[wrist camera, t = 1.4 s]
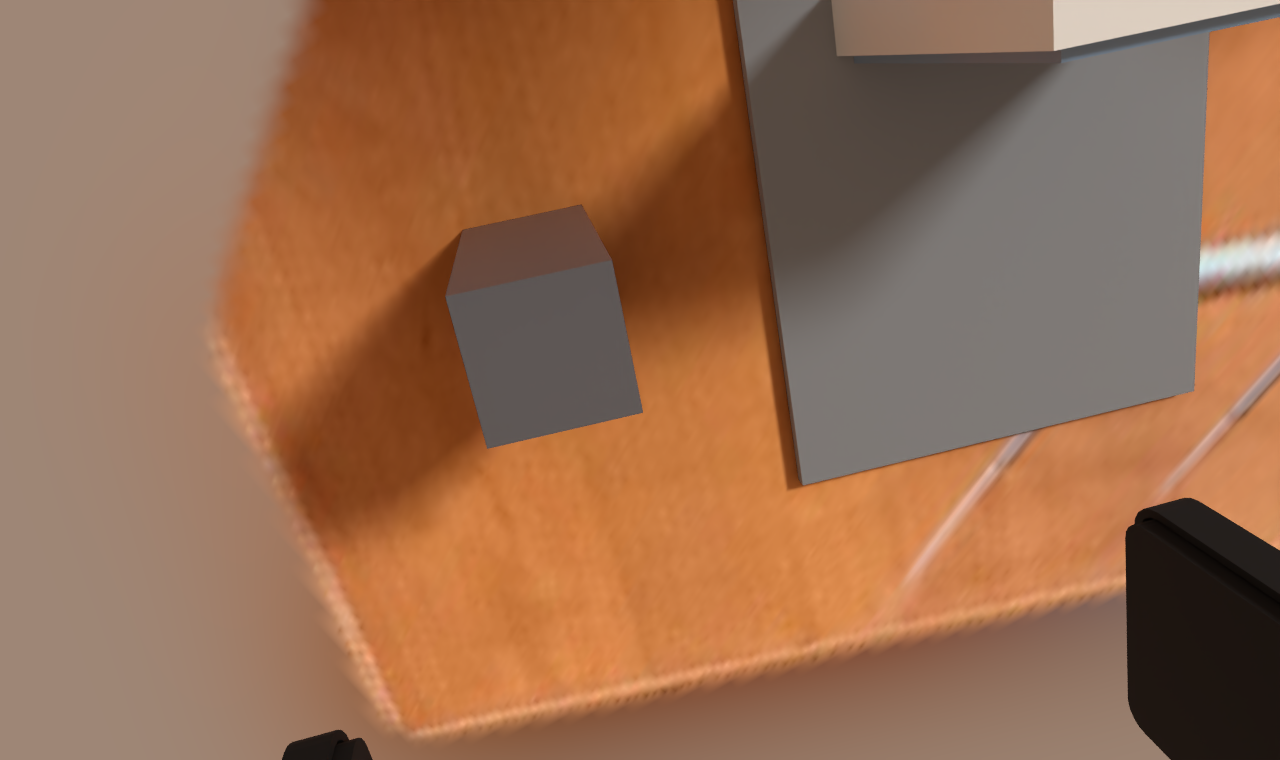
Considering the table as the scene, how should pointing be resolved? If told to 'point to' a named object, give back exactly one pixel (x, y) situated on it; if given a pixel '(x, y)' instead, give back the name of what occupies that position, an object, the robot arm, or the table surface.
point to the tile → (1025, 27)
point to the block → (541, 326)
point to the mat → (971, 236)
